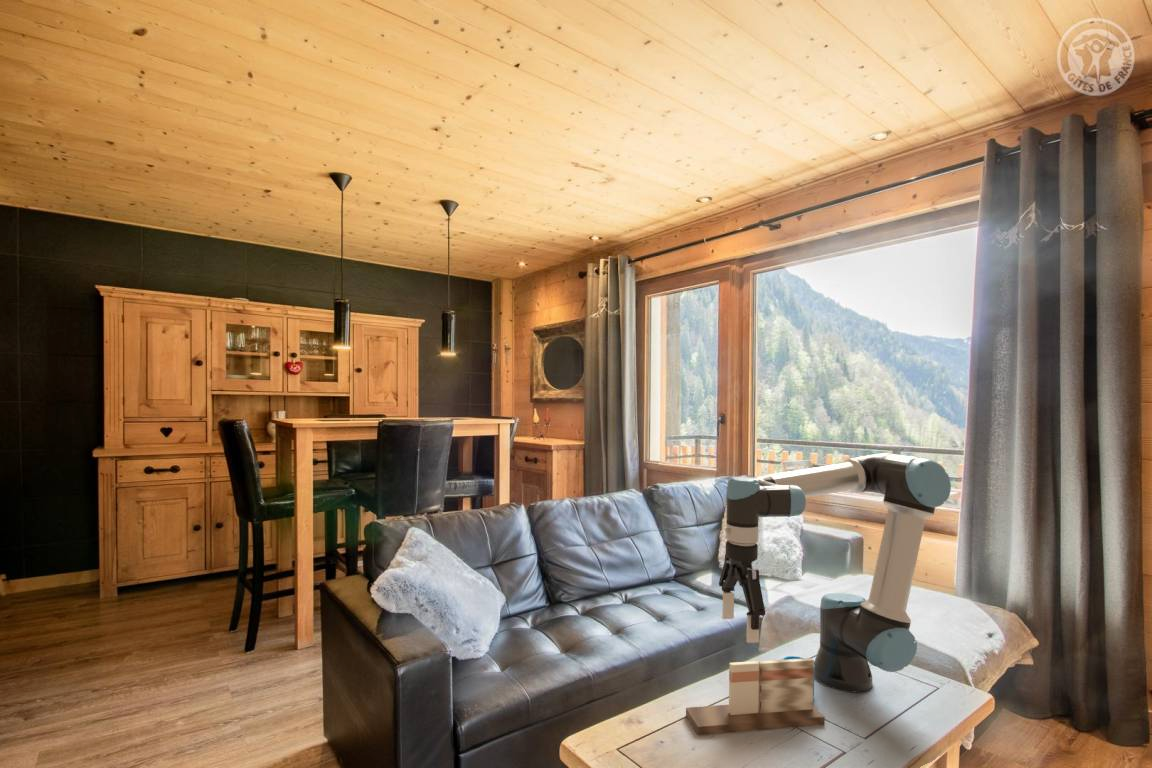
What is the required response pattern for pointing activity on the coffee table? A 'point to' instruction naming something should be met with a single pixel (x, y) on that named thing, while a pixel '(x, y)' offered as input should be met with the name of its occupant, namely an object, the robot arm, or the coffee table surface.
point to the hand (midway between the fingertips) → (739, 629)
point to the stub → (743, 687)
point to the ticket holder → (767, 702)
